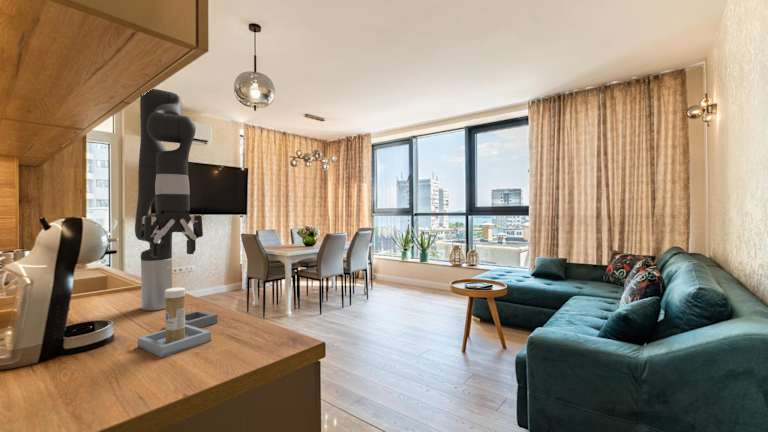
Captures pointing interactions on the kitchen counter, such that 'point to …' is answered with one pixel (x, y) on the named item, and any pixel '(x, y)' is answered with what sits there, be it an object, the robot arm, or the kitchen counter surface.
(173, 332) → the sprinkles bottle
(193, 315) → the holder
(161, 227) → the robot arm
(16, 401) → the kitchen counter surface
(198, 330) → the tray
